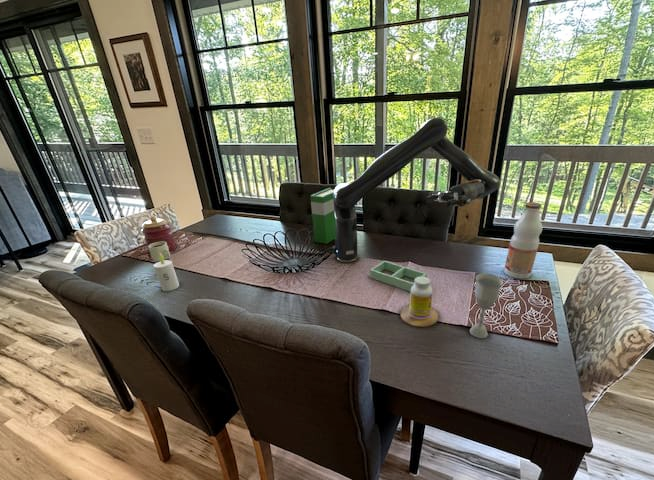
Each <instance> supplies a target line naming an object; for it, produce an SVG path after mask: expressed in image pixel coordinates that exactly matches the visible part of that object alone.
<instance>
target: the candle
mask: <svg viewBox="0 0 654 480" xmlns="http://www.w3.org/2000/svg"><path fill="white" fill-rule="evenodd" d="M159 257H160V262H157V263H156V262H155V263H154V264H153V268H154V271H155V273H156V276H157V279H158V282H159V284H160V285H159V286H160V287H161V290H162V291H163V292H170V291H174V290H176V289H178V288H179V287H180V282H179V279H178V277H177V274H176V270H175V268H174V267H175V266H174V264H173V261H172V260H171V259H170V260H164V258H163V256H162V254H161V253H160V252H159Z"/></svg>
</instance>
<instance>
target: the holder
mask: <svg viewBox="0 0 654 480" xmlns="http://www.w3.org/2000/svg"><path fill="white" fill-rule="evenodd" d="M384 270H385V271H388V272H392V275H391V274H388V273H384V272H383V271H384ZM403 277H408V278H410V279H414V280H415V278H417V277H427V278H428V273H426V272H423V271H420V270H417V269H413V268H409V267H407V266H403V265H400V264H397V263H394V262H390V261H386V260H383V261H382V262H380V263H379V264H376V265H375V266H373V267H372V268H370V269H369V278H371V279H373V280H377V281H379V282H381V283H384V284H388V285H391V286H393V287H396V288H399V289H402V290H405V291H407V292H409V293H411V287H412V286H413V285H414V284H415V283H414V282H412V281H408V280H405V279H402V278H403Z"/></svg>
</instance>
